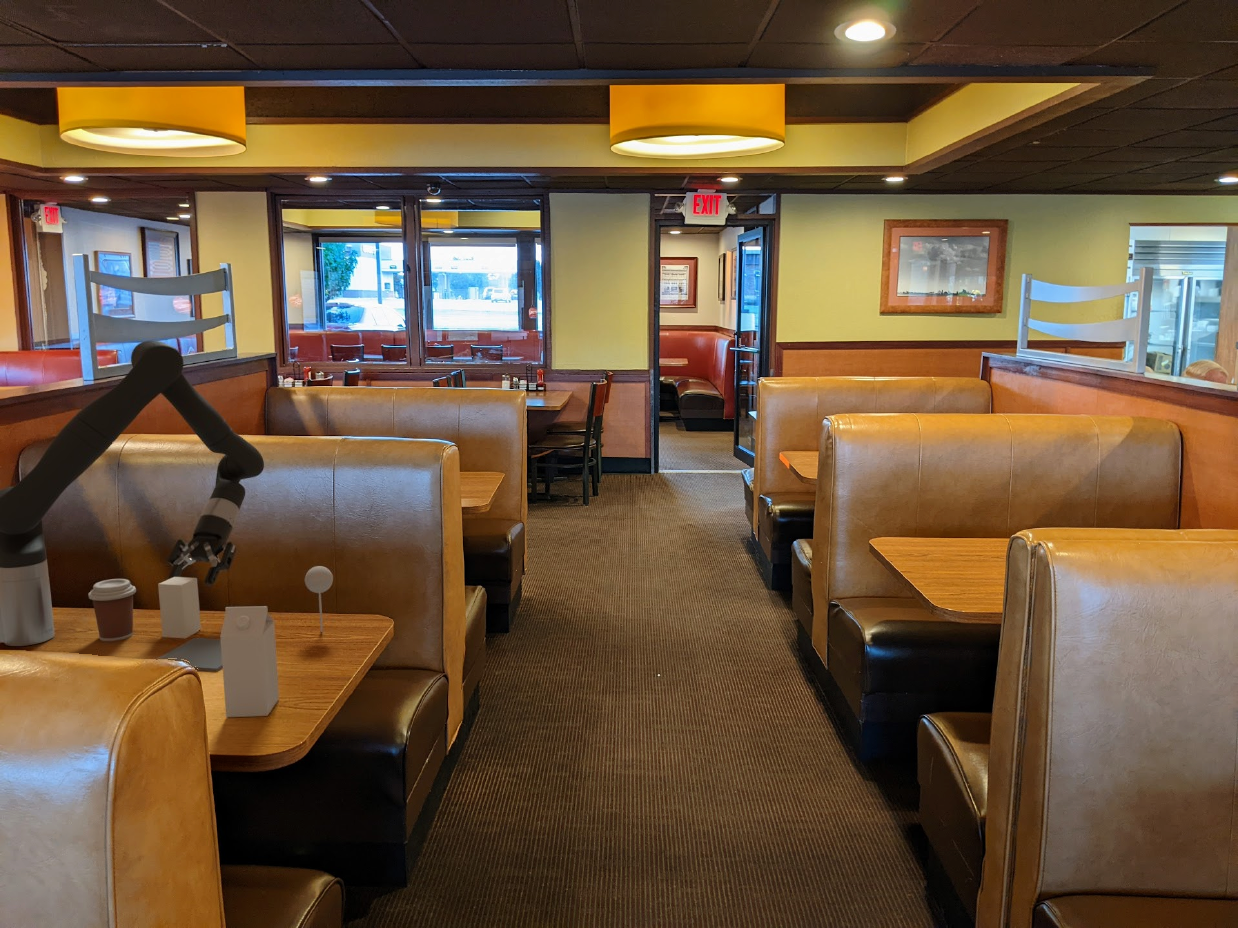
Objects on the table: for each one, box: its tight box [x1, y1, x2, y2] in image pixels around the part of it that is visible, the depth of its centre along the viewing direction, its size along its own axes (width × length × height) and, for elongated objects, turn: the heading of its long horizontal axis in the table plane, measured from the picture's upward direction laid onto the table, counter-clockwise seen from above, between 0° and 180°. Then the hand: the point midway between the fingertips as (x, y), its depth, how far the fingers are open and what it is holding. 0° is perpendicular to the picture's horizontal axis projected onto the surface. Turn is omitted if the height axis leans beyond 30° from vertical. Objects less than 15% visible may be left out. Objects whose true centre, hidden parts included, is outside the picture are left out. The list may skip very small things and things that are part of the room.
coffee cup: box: [87, 578, 137, 642], centre depth 198 cm, size 9×9×12 cm
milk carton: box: [219, 605, 280, 718], centre depth 161 cm, size 7×7×19 cm
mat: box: [157, 637, 223, 672], centre depth 188 cm, size 15×15×1 cm
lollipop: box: [304, 565, 334, 633], centre depth 200 cm, size 6×6×15 cm
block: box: [157, 576, 202, 639], centre depth 199 cm, size 6×6×12 cm
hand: (190, 583), depth 203 cm, fingers open, 8 cm apart
